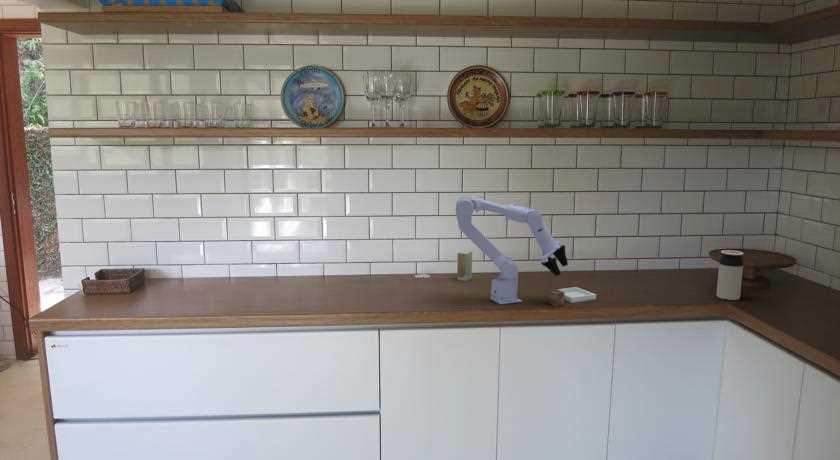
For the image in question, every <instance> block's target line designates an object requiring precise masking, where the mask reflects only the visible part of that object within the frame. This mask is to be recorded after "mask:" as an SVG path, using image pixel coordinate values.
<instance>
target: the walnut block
mask: <svg viewBox="0 0 840 460" xmlns="http://www.w3.org/2000/svg"><path fill="white" fill-rule="evenodd" d="M548 303H550V304H552V305H551V306H553V305H554V306H553V307H558V306H557V305H562V306H564V305H565V300H564V292H563V291H560V290H557V289H551V290H548V302H547V304H548ZM550 304H549V305H550Z"/></svg>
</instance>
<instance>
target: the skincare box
mask: <svg viewBox="0 0 840 460" xmlns="http://www.w3.org/2000/svg"><path fill="white" fill-rule="evenodd" d="M456 279H457V281H463V282H467V281H469V280H471V279H473V251H472V250H461V251H458V252H457V278H456Z"/></svg>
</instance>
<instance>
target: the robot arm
mask: <svg viewBox="0 0 840 460" xmlns="http://www.w3.org/2000/svg"><path fill="white" fill-rule="evenodd" d="M455 204H456V205H455V214H456V220H457V225H458V229H459V230H460V232H462V233H463V235H465V236H466V237H467V238H468V239H469V240H470V241H471V242H472V243H473V244H474V245H475V247H477V248H478V249H479V250H480V251H482V252H483V253H484V254H485V255H486V257H487V258H489V260H491V262H493V264H495V266H496V267H497V268H498V269H499V271H500V273H498V276H497V277H496V278H494V279H492V281H491V285H490V287H491V288H490V297H489V299H490V300H491V301H493V302H495V303H497V304H499V305H507V304H514V303H521V302H523V300H522V299H519V298H518V292H519V291H518V289H519V288H518V287H519V286H518V285H519V284H518V283H519V282H518V281H519V277H518V274H519V267H518V265H517V264H516V262H515V260H514V259H513V258H511V257H508V256H506V255H505V254H504V253H503V252H502V251H501V250H500V249H498V248H497V246H495V245H494V244H493V243H492V242H491V241H490V240H489V239H488V238H487V237H486V236H485V235H484V234H483V233H482V232H481V231H480V229H478V228H477V227H476V226H475V225H474V224H473V223H472V220H473V219H472V217H473V213H474V211H475V213H477V212H480V211H486V212H492V213H496V214H500V215H503V216H504V217H505V219H506V220H510V221H512V222H513V221H514V222H517V223H520V224H521V223H522V224H523V223H526V224H527V225H528V226H529V228H530V230H531V234H532V236H533V237H534V239H535V241H536V242H537V244H538V247H540V249H541V251H542V253H541V257H540V260H541V262H540V263H541V265H542V266H543V267H545V268H547V269H548V270H549V271H550V272H551V273H552V274H553V275H554V276H555V277H557V276H560V275H561V271H560V268H559V266H558V262H559V263H560V265H561V266H562V267H566V266H568V265H569V264H568V259H567V254H566V246H565V244H564V245H563V244H562V241H560V239H558V240H555V239H554V237H553V235H552V234H551V232H550V230H549V228H548V226H547V224H545V222H544V220H543V216H542V215H543V214H541V213H540V212H539V211H538V210H536V209H534V208H530V207H528V206H527V207H523V206H522V205H521V206H520V205H518V204H517V203H516V202H513V203H509V204H507V205H503V204H500V203H496V202H493V201H489V200H487V199H483V198H479V197H469V196H467V195H463V196H461V197H459V198H458V199H457V201H456V203H455ZM552 256H554V257H552ZM557 260H558V262H557Z"/></svg>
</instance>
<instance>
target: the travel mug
mask: <svg viewBox="0 0 840 460" xmlns="http://www.w3.org/2000/svg"><path fill="white" fill-rule="evenodd" d="M720 253H721V257H720V258H719V263H718V274H717V284H716V297H718V298H719V299H722V300H725V299H727V300H726V301H738V300H740V298H741V292H742V281H743V280H742V279H743V270H744V260H743V256H744V252H742V251H738V250H731V249H726V250H721V252H720Z"/></svg>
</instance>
